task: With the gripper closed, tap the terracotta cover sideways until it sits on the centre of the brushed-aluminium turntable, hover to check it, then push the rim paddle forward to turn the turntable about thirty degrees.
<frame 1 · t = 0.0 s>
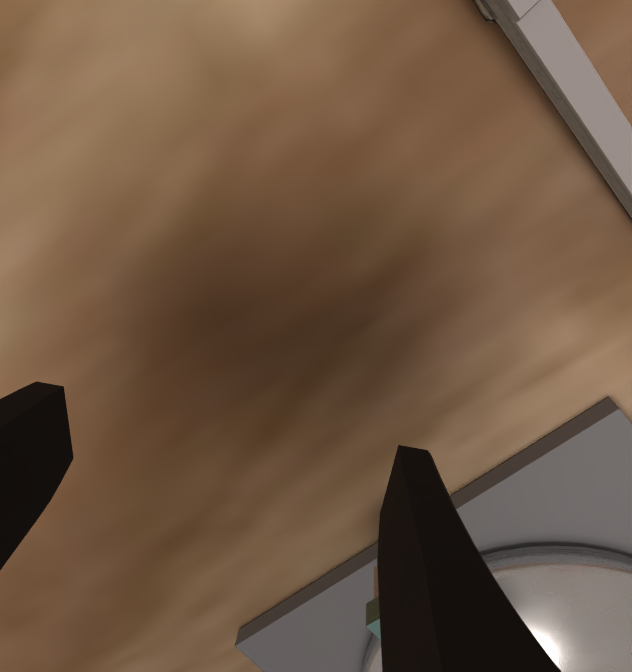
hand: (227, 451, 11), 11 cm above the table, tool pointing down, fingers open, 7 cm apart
caliper: (551, 102, 18), on the table
base plate: (534, 665, 27), on the table
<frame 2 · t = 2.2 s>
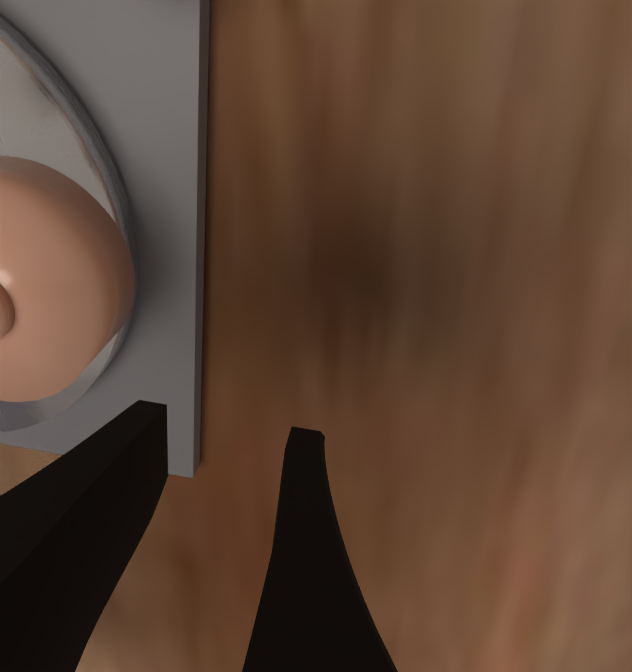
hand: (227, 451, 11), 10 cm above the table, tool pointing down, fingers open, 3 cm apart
cover: (33, 263, 18), point 3 cm above the table, touching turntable
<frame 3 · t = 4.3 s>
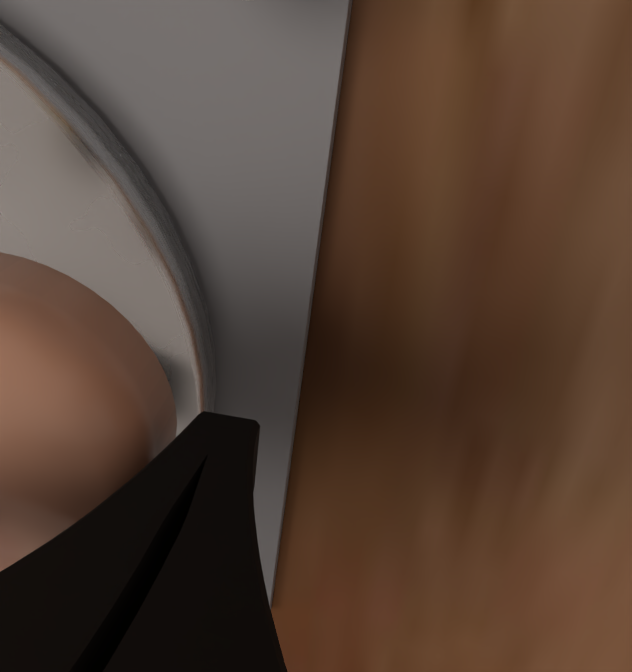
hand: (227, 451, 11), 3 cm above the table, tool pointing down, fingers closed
cover: (26, 396, 12), point 3 cm above the table, touching gripper, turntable
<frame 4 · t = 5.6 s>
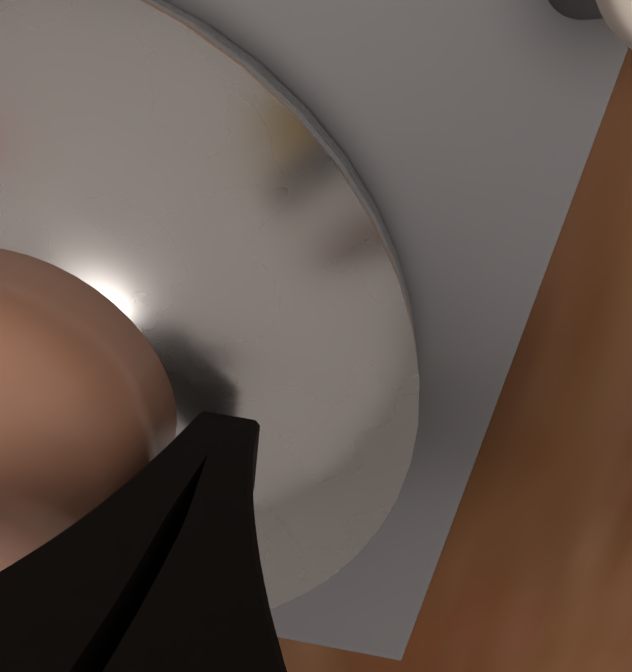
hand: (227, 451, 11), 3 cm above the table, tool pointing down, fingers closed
cover: (26, 393, 12), point 3 cm above the table, touching gripper, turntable
base plate: (97, 338, 15), on the table
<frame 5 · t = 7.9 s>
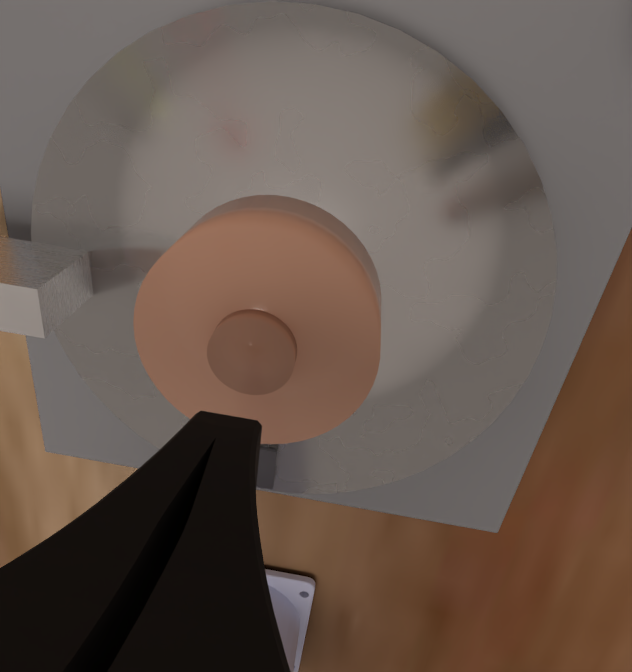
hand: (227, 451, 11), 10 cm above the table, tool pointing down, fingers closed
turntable: (225, 307, 17), point 4 cm above the table, hinge at 0.0°, touching cover
cover: (274, 301, 18), point 3 cm above the table, touching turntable
base plate: (295, 272, 20), on the table
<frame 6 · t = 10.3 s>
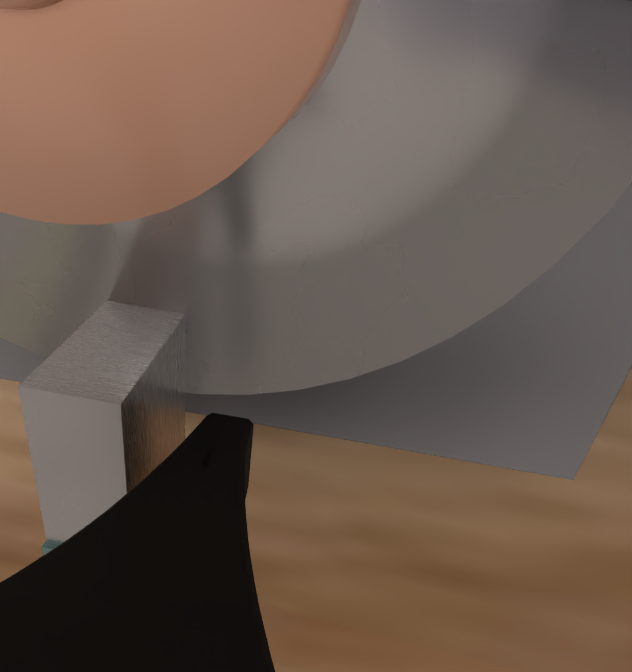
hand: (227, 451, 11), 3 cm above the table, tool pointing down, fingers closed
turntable: (113, 32, 8), point 4 cm above the table, hinge at 0.0°, touching cover, gripper
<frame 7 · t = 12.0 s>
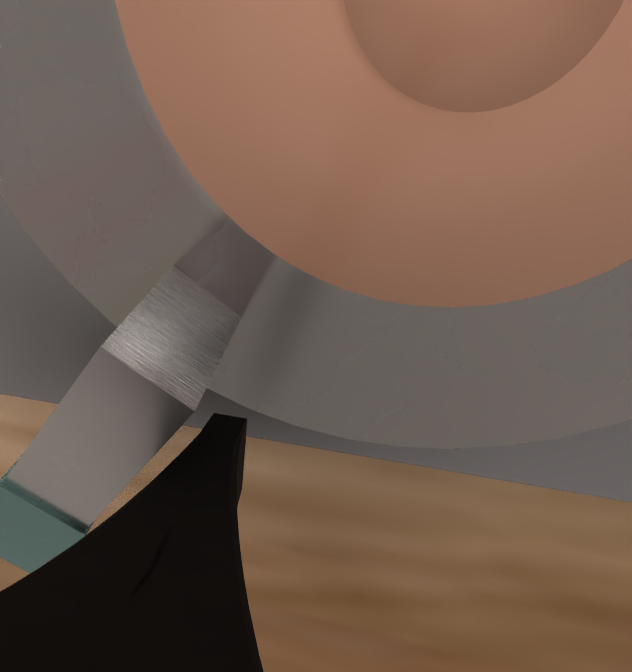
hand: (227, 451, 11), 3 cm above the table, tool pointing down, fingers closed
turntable: (379, 82, 7), point 4 cm above the table, hinge at 32.2°, touching cover, gripper
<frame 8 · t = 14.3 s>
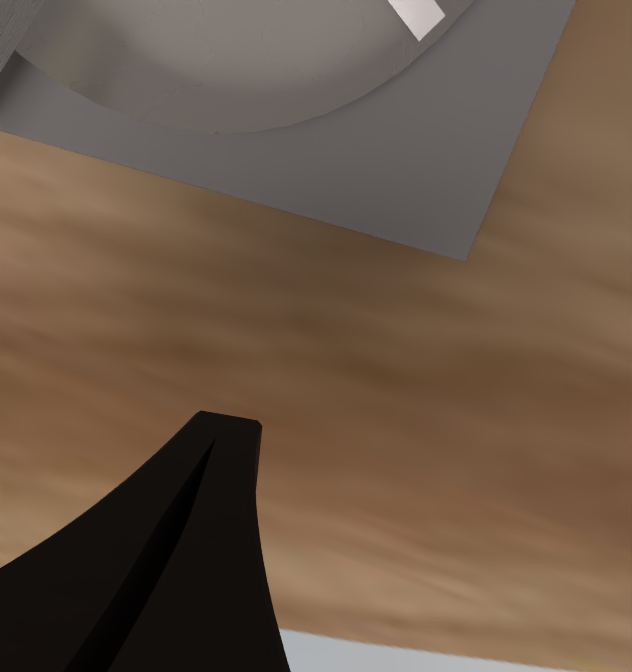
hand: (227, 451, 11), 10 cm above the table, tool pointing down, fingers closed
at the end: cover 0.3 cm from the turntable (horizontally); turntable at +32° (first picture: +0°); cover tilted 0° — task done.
